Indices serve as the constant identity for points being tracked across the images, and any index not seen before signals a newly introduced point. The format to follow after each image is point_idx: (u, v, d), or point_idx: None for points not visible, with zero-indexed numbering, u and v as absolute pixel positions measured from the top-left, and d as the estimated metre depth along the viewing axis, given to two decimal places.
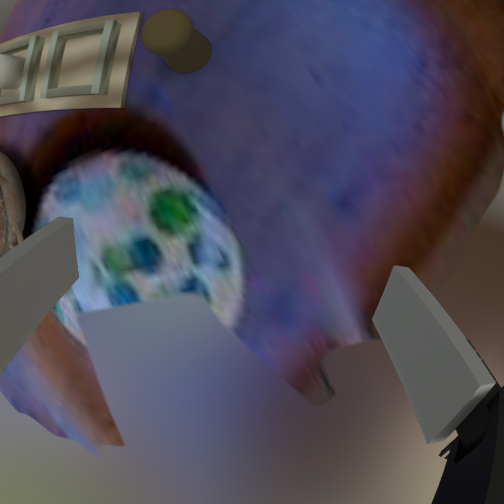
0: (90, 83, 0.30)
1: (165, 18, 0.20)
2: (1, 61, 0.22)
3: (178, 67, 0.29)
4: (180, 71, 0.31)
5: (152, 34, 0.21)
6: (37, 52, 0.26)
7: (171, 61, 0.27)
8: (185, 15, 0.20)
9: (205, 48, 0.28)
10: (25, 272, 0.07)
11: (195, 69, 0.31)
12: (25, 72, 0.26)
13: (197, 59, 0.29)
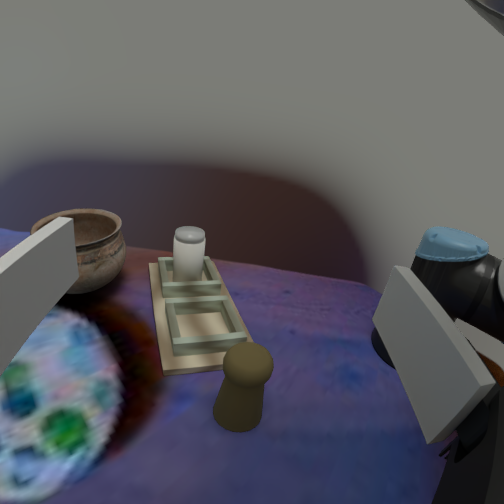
0: None
1: (259, 353, 0.28)
2: (197, 255, 0.51)
3: (217, 405, 0.31)
4: (214, 411, 0.32)
5: (239, 349, 0.29)
6: (206, 290, 0.52)
7: (220, 391, 0.30)
8: (270, 369, 0.28)
9: (247, 420, 0.30)
10: (25, 272, 0.07)
11: (222, 423, 0.30)
12: (187, 283, 0.51)
13: (232, 417, 0.29)
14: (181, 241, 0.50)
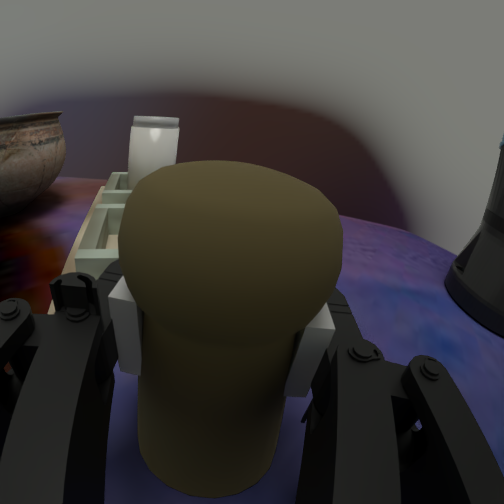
0: None
1: (281, 174, 0.06)
2: (162, 149, 0.29)
3: (138, 415, 0.09)
4: (138, 432, 0.10)
5: (196, 162, 0.07)
6: None
7: None
8: (337, 238, 0.06)
9: (232, 471, 0.08)
10: None
11: (155, 470, 0.08)
12: None
13: (180, 461, 0.07)
14: (140, 125, 0.28)
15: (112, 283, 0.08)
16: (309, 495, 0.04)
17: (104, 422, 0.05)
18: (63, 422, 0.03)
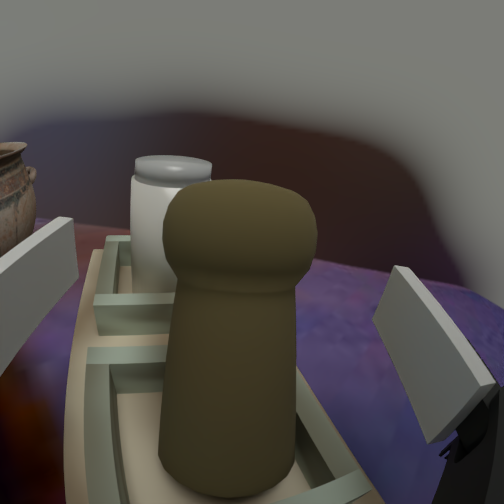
0: (140, 496, 0.08)
1: None
2: None
3: (163, 420, 0.09)
4: (160, 447, 0.10)
5: None
6: None
7: (166, 363, 0.10)
8: (311, 212, 0.09)
9: (266, 447, 0.08)
10: (25, 272, 0.07)
11: (186, 477, 0.08)
12: (162, 298, 0.18)
13: (215, 443, 0.08)
14: (147, 180, 0.17)
15: None
16: None
17: None
18: None
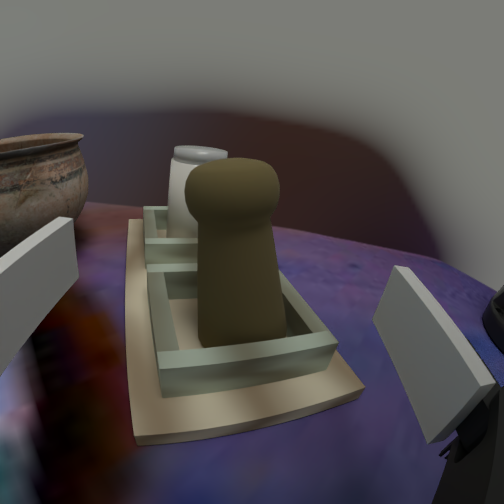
0: None
1: None
2: None
3: (204, 317, 0.17)
4: (204, 338, 0.18)
5: (208, 162, 0.15)
6: None
7: (201, 279, 0.17)
8: (274, 173, 0.16)
9: (272, 315, 0.17)
10: (25, 272, 0.07)
11: None
12: (193, 240, 0.27)
13: (244, 319, 0.16)
14: (185, 160, 0.26)
15: None
16: None
17: None
18: None
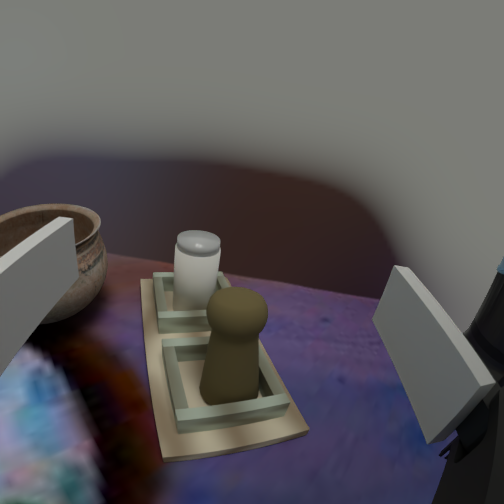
0: (189, 406, 0.25)
1: (247, 291, 0.25)
2: (208, 274, 0.35)
3: (210, 384, 0.25)
4: (207, 396, 0.25)
5: (224, 294, 0.24)
6: None
7: (211, 363, 0.25)
8: (266, 305, 0.25)
9: (253, 385, 0.26)
10: (25, 272, 0.07)
11: None
12: (194, 313, 0.35)
13: (237, 388, 0.25)
14: (186, 252, 0.34)
15: None
16: None
17: None
18: None
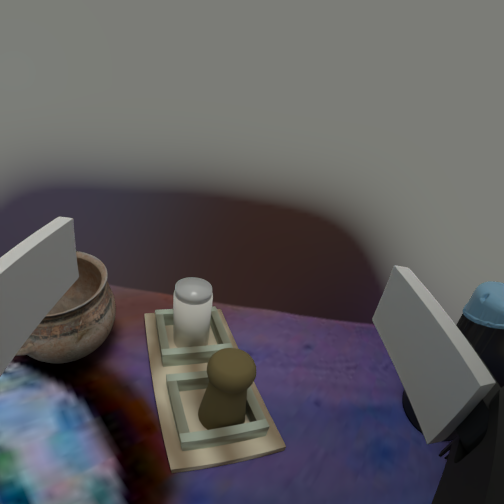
0: (190, 428, 0.31)
1: (240, 356, 0.29)
2: (203, 317, 0.41)
3: (208, 417, 0.30)
4: (205, 424, 0.31)
5: (222, 359, 0.28)
6: None
7: (209, 404, 0.30)
8: (255, 366, 0.29)
9: (241, 417, 0.31)
10: (25, 272, 0.07)
11: None
12: (192, 349, 0.40)
13: (229, 421, 0.30)
14: (183, 301, 0.39)
15: None
16: None
17: None
18: None
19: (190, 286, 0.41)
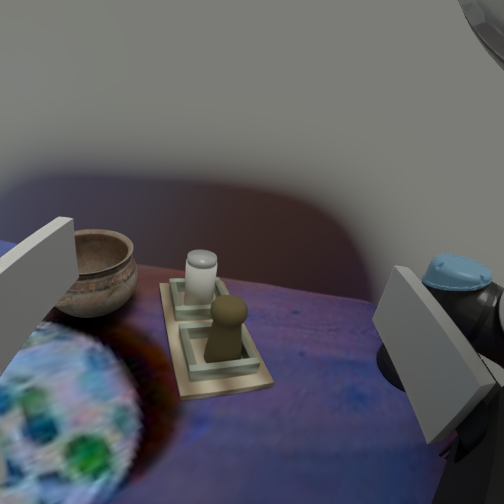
0: None
1: (235, 298, 0.41)
2: (209, 280, 0.52)
3: (211, 354, 0.42)
4: (209, 362, 0.42)
5: (221, 301, 0.40)
6: None
7: (213, 341, 0.41)
8: (246, 306, 0.41)
9: (238, 355, 0.43)
10: (25, 272, 0.07)
11: None
12: (200, 307, 0.52)
13: (228, 357, 0.41)
14: (194, 266, 0.51)
15: None
16: None
17: None
18: None
19: (199, 255, 0.52)
